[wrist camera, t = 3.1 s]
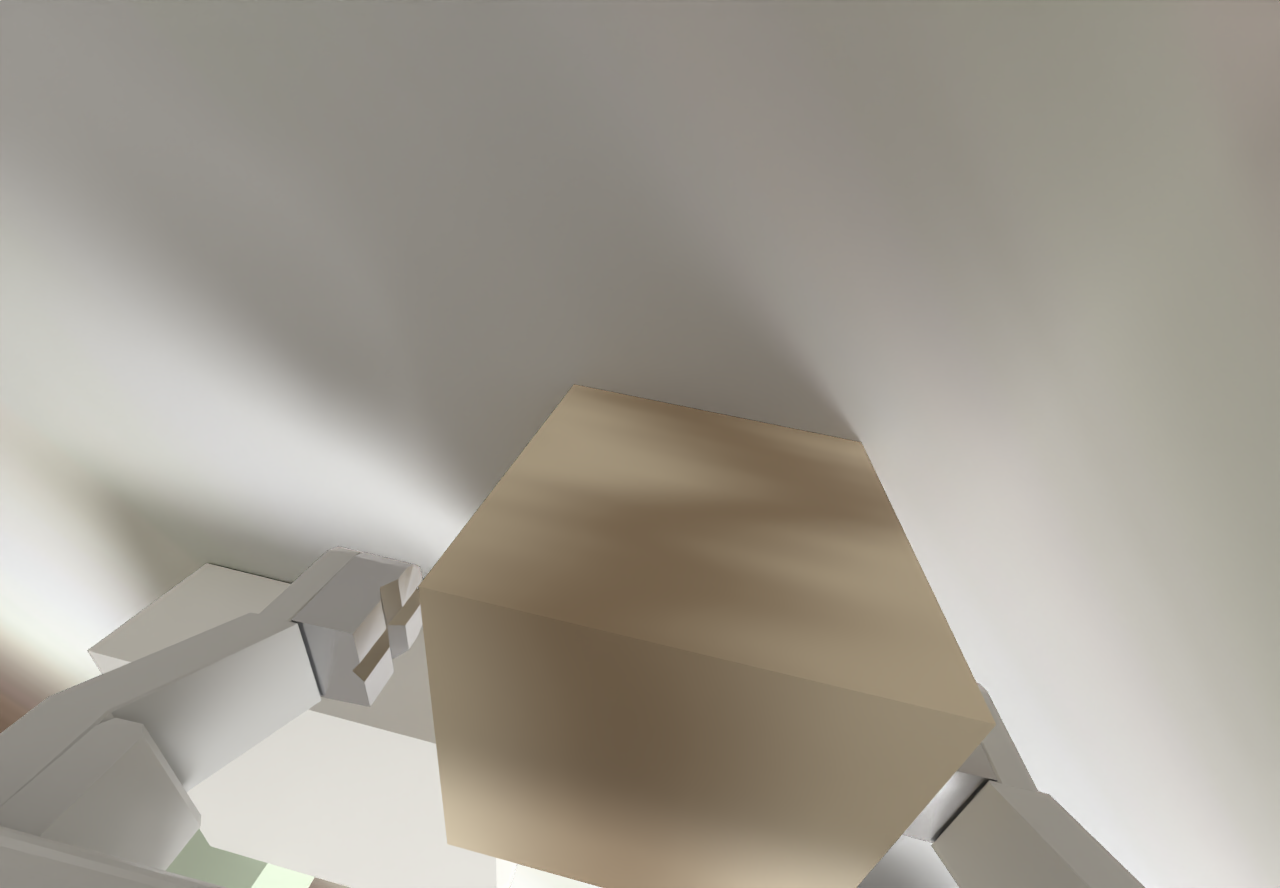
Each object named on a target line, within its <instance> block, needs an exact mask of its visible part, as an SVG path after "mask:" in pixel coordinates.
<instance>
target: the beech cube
mask: <svg viewBox="0 0 1280 888" xmlns="http://www.w3.org/2000/svg"><path fill="white" fill-rule="evenodd" d="M418 588H419V597H420V606H421V615H422V624H423V633H424V642H425V650H426V659H427V668H428V677H429V686H430V695H431V704H432V713H433V722H434V730H435V739H436V748H437V757H438V766H439V775H440V784H441V793H442V802H443V811H444V819H445V828H446V837H447V844H449V845H452V846H456V847H460V848H463V849H467V850H470V851H474V852H477V853H481V854H485V855H488V856H492V857H495V858H499V859H502V860H506V861H510V862H513V863H517V864H520V865H524V866H528V867H531V868H535V869H538V870H542V871H545V872H549V873H553V874H556V875H560V876H563V877H567V878H570V879H574V880H578V881H581V882H585V883H588V884H592V885H595V886H599V887H603V888H857V886H858V885H859V884H860V883H861V882H862V881H863V879H864V878H865V877H866V876H867V875H868V874H869V872H870V871H871V870H872V869H873V868H874V867H875V865H876V864H877V863H878V862H879V861H880V860H881V858H882V857H883V856H884V855H885V854H886V853H887V851H888V850H889V849H890V848H891V847H892V846H893V844H894V843H895V842H896V841H897V840H898V839H899V837H900V836H901V835H902V834H903V833H904V832H905V831H906V829H907V828H908V827H909V826H910V825H911V824H912V822H913V821H914V820H915V819H916V818H917V817H918V815H919V814H920V813H921V812H922V811H923V810H924V808H925V807H926V806H927V805H928V804H929V803H930V801H931V800H932V799H933V798H934V797H935V796H936V794H937V793H938V792H939V791H940V790H941V789H942V787H943V786H944V785H945V784H946V783H947V782H948V780H949V779H950V778H951V777H952V776H953V775H954V773H955V772H956V771H957V770H958V769H959V768H960V766H961V765H962V764H963V763H964V762H965V761H966V759H967V758H968V757H969V756H970V755H971V754H972V752H973V751H974V750H975V749H976V748H977V747H978V745H979V744H980V743H981V742H982V741H983V740H984V738H985V737H986V736H987V735H988V734H989V733H990V731H991V730H992V729H993V728H994V727H995V726H996V723H995V721H994V719H993V716H992V714H991V712H990V710H989V708H988V706H987V704H986V702H985V700H984V698H983V696H982V693H981V691H980V689H979V687H978V685H977V683H976V681H975V679H974V677H973V675H972V673H971V670H970V668H969V666H968V664H967V662H966V660H965V658H964V656H963V654H962V652H961V650H960V647H959V645H958V643H957V641H956V639H955V637H954V635H953V633H952V631H951V629H950V627H949V625H948V622H947V620H946V618H945V616H944V614H943V612H942V610H941V608H940V606H939V604H938V602H937V599H936V597H935V595H934V593H933V591H932V589H931V587H930V585H929V583H928V581H927V579H926V576H925V574H924V572H923V570H922V568H921V566H920V564H919V562H918V560H917V558H916V556H915V553H914V551H913V549H912V547H911V545H910V543H909V541H908V539H907V537H906V535H905V533H904V530H903V528H902V526H901V524H900V522H899V520H898V518H897V516H896V514H895V512H894V510H893V508H892V505H891V503H890V501H889V499H888V497H887V495H886V493H885V491H884V489H883V487H882V485H881V482H880V480H879V478H878V476H877V474H876V472H875V470H874V468H873V466H872V464H871V462H870V459H869V457H868V455H867V453H866V451H865V449H864V447H863V445H862V443H861V442H857V441H852V440H847V439H843V438H838V437H833V436H828V435H823V434H818V433H813V432H808V431H803V430H798V429H793V428H788V427H783V426H778V425H773V424H768V423H763V422H758V421H753V420H748V419H743V418H738V417H733V416H729V415H724V414H719V413H714V412H709V411H704V410H699V409H694V408H689V407H684V406H679V405H674V404H669V403H664V402H659V401H654V400H649V399H644V398H639V397H634V396H629V395H624V394H620V393H615V392H610V391H605V390H600V389H595V388H590V387H585V386H580V385H575V384H574V385H573V386H572V387H571V389H570V390H569V391H568V393H567V394H566V395H565V397H564V398H563V399H562V400H561V402H560V403H559V404H558V406H557V407H556V408H555V409H554V411H553V412H552V413H551V415H550V416H549V417H548V419H547V420H546V421H545V422H544V424H543V425H542V426H541V428H540V429H539V430H538V432H537V433H536V434H535V435H534V437H533V438H532V439H531V441H530V442H529V443H528V445H527V446H526V447H525V448H524V450H523V451H522V452H521V454H520V455H519V456H518V458H517V459H516V460H515V461H514V463H513V464H512V465H511V467H510V468H509V469H508V471H507V472H506V473H505V474H504V476H503V477H502V478H501V480H500V481H499V482H498V484H497V485H496V486H495V487H494V489H493V490H492V491H491V493H490V494H489V495H488V497H487V498H486V499H485V500H484V502H483V503H482V504H481V506H480V507H479V508H478V509H477V511H476V512H475V513H474V515H473V516H472V517H471V519H470V520H469V521H468V522H467V524H466V525H465V526H464V528H463V529H462V530H461V532H460V533H459V534H458V535H457V537H456V538H455V539H454V541H453V542H452V543H451V545H450V546H449V547H448V548H447V550H446V551H445V552H444V554H443V555H442V556H441V558H440V559H439V560H438V561H437V563H436V564H435V565H434V567H433V568H432V569H431V571H430V572H429V573H428V574H427V576H426V577H425V578H424V580H423V581H422V582H421V584H420V585H419V586H418Z"/></svg>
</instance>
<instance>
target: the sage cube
mask: <svg viewBox="0 0 1280 888" xmlns="http://www.w3.org/2000/svg"><path fill="white" fill-rule="evenodd" d="M166 871H168V872H171V873H175V874H179V875H182V876H186V877H190V878H193V879H197V880H201V881H204V882H208V883H212V884H215V885H219V886H223V887H226V888H308V887H309V886H310V884H311V882H312V881H313V879H314V877H313V876H310V875H306V874H303V873H300V872H296V871H293V870H289V869H286V868H283V867H279V866H276V865H272V864H269V863H266V862H262V861H259V860H255V859H252V858H249V857H245V856H242V855H239V854H235V853H232V852H228V851H225V850H222V849H218V848H215V847H211V846H210V845H209V843H208V842H207V840H206V839H205V837H204V835H203V834H202V832H201V831H200V829H198V830H197V832H196V833H195V834H194V835H193V837H192V838H191V839H190V840H189V842H188V843H187V844H186V845H185V847H184V848H183V849H182V851H181V852H180V853H179V854H178V856H177V857H176V858H175V859H174V861H173V862H172V863H171V864H170V866H169V867H168V868H167V869H166Z"/></svg>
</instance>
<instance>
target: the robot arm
mask: <svg viewBox="0 0 1280 888" xmlns="http://www.w3.org/2000/svg"><path fill="white" fill-rule="evenodd" d="M422 580H423V579H422V574H421V568H420V566H418V565H415V564H411V563H407V562H403V561H399V560H395V559H391V558H387V557H383V556H378V555H374V554H370V553H366V552H361V551H356V550H352V549H348V548H343V547H339V546H337V547H335V548H332V549H330V550H328V551H326V552H325V553H324V554H323V555H322V556H321V557H320V558H319V559H318V560H316V561H315V562H314V563H313V564H312V565H311V566H310V567H309V568H308V569H307V570H306V571H305V572H304V573H302V574H301V575H300V576H299V577H298V578H297V579H296V580H295V581H294V582H293V583H292V584H291V585H289V586H288V587H287V588H286V589H285V590H284V591H283V592H282V593H281V594H280V595H279V596H278V597H277V598H275V599H274V600H273V601H272V602H271V603H270V604H269V605H268V606H267V607H266V608H265V609H264V610H263V611H261V612H260V613H259V614H256V613H248V614H245V615H243V616H240V617H238V618H236V619H233V620H231V621H229V622H226V623H224V624H221V625H219V626H217V627H214V628H212V629H209V630H207V631H205V632H202V633H200V634H197V635H195V636H193V637H190V638H188V639H186V640H183V641H181V642H178V643H176V644H174V645H171V646H169V647H166V648H164V649H162V650H159V651H157V652H154V653H152V654H150V655H147V656H145V657H143V658H140V659H138V660H135V661H133V662H131V663H128V664H126V665H123V666H121V667H119V668H116V669H114V670H111V671H109V672H107V673H104V674H102V675H99V676H97V677H95V678H92V679H90V680H88V681H85V682H83V683H80V684H78V685H76V686H73V687H71V688H68V689H66V690H64V691H61V692H59V693H56V694H54V695H52V696H49V697H48V698H46V699H45V700H44V701H42V702H41V703H40V704H39V705H37V706H36V707H35V708H33V709H32V710H31V711H29V712H28V713H27V714H25V715H24V716H23V717H21V718H20V719H19V720H18V721H16V722H15V723H14V724H12V725H11V726H10V727H8V728H7V729H6V730H4V731H3V732H2V733H1V734H0V888H226V887H223V886H219V885H215V884H212V883H208V882H204V881H201V880H197V879H193V878H190V877H186V876H182V875H179V874H175V873H171V872H168V871H166V869H167V868H168V867H169V866H170V864H171V863H172V862H173V861H174V859H175V858H176V857H177V856H178V854H179V853H180V852H181V851H182V849H183V848H184V847H185V845H186V844H187V843H188V842H189V840H190V839H191V838H192V837H193V835H194V834H195V833H196V832H197V830H198V829H199V828H200V827H201V814H200V813H199V811H198V810H197V808H196V806H195V805H194V803H193V802H192V800H191V799H190V797H189V795H188V794H187V792H188V791H189V790H190V789H192V788H193V787H195V786H196V785H198V784H199V783H201V782H202V781H204V780H205V779H207V778H208V777H210V776H211V775H213V774H214V773H215V772H217V771H218V770H220V769H221V768H223V767H224V766H226V765H227V764H229V763H230V762H232V761H233V760H235V759H236V758H238V757H239V756H240V755H242V754H243V753H245V752H246V751H248V750H249V749H251V748H252V747H254V746H255V745H257V744H258V743H260V742H261V741H263V740H264V739H265V738H267V737H268V736H270V735H271V734H273V733H274V732H276V731H277V730H279V729H280V728H282V727H283V726H285V725H286V724H287V723H289V722H290V721H292V720H293V719H295V718H296V717H298V716H299V715H301V714H302V713H304V712H305V711H307V710H308V709H310V708H311V707H312V706H314V705H315V704H317V703H318V702H320V701H321V700H322V699H321V697H324V698H329V699H333V700H338V701H343V702H348V703H353V704H358V705H363V706H367V707H371V705H372V704H373V702H374V701H375V699H376V698H377V696H378V695H379V694H380V692H381V691H382V689H383V688H384V686H385V685H386V683H387V682H388V680H389V679H390V677H391V676H392V674H393V673H394V664H393V659H394V658H396V657H398V656H399V655H401V654H403V653H405V652H406V651H408V650H409V649H410V648H411V646H412V644H413V643H414V641H415V640H416V638H417V637H418V635H419V632H420V629H421V627H422V615H421V606H420V597H419V590H418V589H417V587H418V586H419V584H420V583H421V582H422ZM977 685H978V687H979V689H980V691H981V693H982V696H983V698H984V700H985V702H986V704H987V706H988V708H989V710H990V712H991V714H992V716H993V719H994V721H995V723H996V726H995V727H994V728H993V729H992V730H991V731H990V733H989V734H988V735H987V736H986V737H985V738H984V740H983V741H982V742H981V743H980V744H979V745H978V747H977V748H976V749H975V750H974V751H973V752H972V754H971V755H970V756H969V757H968V758H967V759H966V761H965V762H964V763H963V764H962V765H961V766H960V768H959V769H958V770H957V771H956V772H955V773H954V775H953V776H952V777H951V778H950V779H949V780H948V782H947V783H946V784H945V785H944V786H943V787H942V789H941V790H940V791H939V792H938V793H937V794H936V796H935V797H934V798H933V799H932V800H931V801H930V803H929V804H928V805H927V806H926V807H925V808H924V810H923V811H922V812H921V813H920V814H919V815H918V817H917V818H916V819H915V820H914V821H913V822H912V824H911V825H910V826H909V827H908V828H907V829H906V831H905V832H904V833H903V834H902V835H905V836H909V837H913V838H917V839H920V840H924V841H928V842H931V843H933V844H932V845H931V846H932V847H933V849H934V850H935V852H936V853H937V855H938V856H939V858H940V859H941V861H942V862H943V864H944V865H945V867H946V868H947V870H948V871H949V873H950V874H951V876H952V877H953V879H954V880H955V882H956V883H957V885H958V886H959V888H1145V887H1144V886H1143V885H1142V884H1141V883H1140V882H1139V881H1138V880H1137V879H1136V878H1135V877H1134V876H1133V875H1132V874H1131V873H1130V872H1129V871H1128V870H1126V869H1125V868H1124V867H1123V866H1122V865H1121V864H1120V863H1119V862H1118V861H1117V860H1116V859H1115V858H1114V857H1113V856H1112V855H1111V854H1110V853H1109V852H1108V851H1107V850H1106V849H1105V848H1104V847H1103V846H1102V845H1101V844H1100V843H1099V842H1098V841H1097V840H1096V839H1095V838H1094V837H1093V836H1092V835H1090V834H1089V833H1088V832H1087V831H1086V830H1085V829H1084V828H1083V827H1082V826H1081V825H1080V824H1079V823H1078V822H1077V821H1076V820H1075V819H1074V818H1073V817H1072V816H1071V815H1070V814H1069V813H1068V812H1067V811H1066V810H1065V809H1064V808H1063V807H1062V806H1061V805H1060V804H1059V803H1058V802H1057V801H1056V800H1054V799H1053V798H1052V797H1051V796H1050V795H1049V794H1046V793H1042V792H1039V791H1038V790H1037V788H1036V786H1035V784H1034V782H1033V780H1032V778H1031V776H1030V774H1029V772H1028V770H1027V768H1026V766H1025V764H1024V762H1023V760H1022V759H1021V757H1020V755H1019V753H1018V751H1017V749H1016V747H1015V745H1014V743H1013V741H1012V739H1011V737H1010V735H1009V733H1008V731H1007V729H1006V727H1005V725H1004V723H1003V721H1002V719H1001V717H1000V715H999V714H998V712H997V710H996V708H995V706H994V704H993V702H992V700H991V698H990V696H989V694H988V692H987V691H986V690H985V689H984V688H983V687H982V686H981V685H980V684H979V683H977Z"/></svg>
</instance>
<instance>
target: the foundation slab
mask: <svg viewBox="0 0 1280 888" xmlns="http://www.w3.org/2000/svg"><path fill="white" fill-rule="evenodd" d="M289 585H291V584H289V583H285V582H281V581H277V580H273V579H269V578H265V577H261V576H257V575H253V574H249V573H245V572H241V571H237V570H233V569H229V568H224V567H220V566H216V565H212V564H208V563H206V564H205V565H203V566H202V567H201V568H199V569H198V570H196V571H195V572H194V573H192V574H191V575H190V576H188V577H187V578H186V579H184V580H183V581H181V582H180V583H179V584H177V585H176V586H175V587H173V588H172V589H170V590H169V591H168V592H166V593H165V594H164V595H162V596H161V597H160V598H158V599H157V600H155V601H154V602H153V603H151V604H150V605H149V606H147V607H146V608H145V609H143V610H142V611H140V612H139V613H138V614H136V615H135V616H134V617H132V618H131V619H130V620H128V621H127V622H125V623H124V624H123V625H121V626H120V627H119V628H117V629H116V630H115V631H113V632H112V633H110V634H109V635H108V636H106V637H105V638H104V639H102V640H101V641H99V642H98V643H97V644H95V645H94V646H93V647H91V648H90V649H89V650H87V651H88V653H89V654H90V656H91V658H92V659H93V661H94V662H95V664H96V665H97V667H98V669H99V670H100V672H101V673H102V674H104V673H107V672H109V671H111V670H114V669H116V668H119V667H121V666H123V665H126V664H128V663H131V662H133V661H135V660H138V659H140V658H143V657H145V656H147V655H150V654H152V653H154V652H157V651H159V650H162V649H164V648H166V647H169V646H171V645H174V644H176V643H178V642H181V641H183V640H186V639H188V638H190V637H193V636H195V635H197V634H200V633H202V632H205V631H207V630H209V629H212V628H214V627H217V626H219V625H221V624H224V623H226V622H229V621H231V620H233V619H236V618H238V617H240V616H243V615H245V614H248V613H256V614H259V613H260V612H261V611H263V610H264V609H265V608H266V607H267V606H268V605H269V604H270V603H271V602H272V601H273V600H274V599H275V598H277V597H278V596H279V595H280V594H281V593H282V592H283V591H284V590H285V589H286V588H287V587H288V586H289ZM393 664H394V673H393V674H392V676H391V677H390V679H389V680H388V682H387V683H386V685H385V686H384V688H383V689H382V691H381V692H380V694H379V695H378V696H377V698H376V699H375V701H374V702H373V704H372V705H371V707H367V706H363V705H358V704H353V703H348V702H343V701H338V700H333V699H329V698H324V697H321V699H322V700H321V701H320V702H318V703H317V704H315V705H314V706H312V707H311V708H310V709H308V710H307V711H305V712H304V713H302V714H301V715H299V716H298V717H296V718H295V719H293V720H292V721H290V722H289V723H287V724H286V725H285V726H283V727H282V728H280V729H279V730H277V731H276V732H274V733H273V734H271V735H270V736H268V737H267V738H265V739H264V740H263V741H261V742H260V743H258V744H257V745H255V746H254V747H252V748H251V749H249V750H248V751H246V752H245V753H243V754H242V755H240V756H239V757H238V758H236V759H235V760H233V761H232V762H230V763H229V764H227V765H226V766H224V767H223V768H221V769H220V770H218V771H217V772H215V773H214V774H213V775H211V776H210V777H208V778H207V779H205V780H204V781H202V782H201V783H199V784H198V785H196V786H195V787H193V788H192V789H190V790H189V791H188V792H187V794H188V795H189V797H190V799H191V800H192V802H193V803H194V805H195V806H196V808H197V810H198V811H199V813H200V814H201V827H200V828H199V829H200V831H201V832H202V834H203V835H204V837H205V839H206V840H207V842H208V843H209V845H210V846H211V847H215V848H218V849H222V850H225V851H228V852H232V853H235V854H239V855H242V856H245V857H249V858H252V859H255V860H259V861H262V862H266V863H269V864H272V865H276V866H279V867H283V868H286V869H289V870H293V871H296V872H300V873H303V874H306V875H310V876H313V877H317V878H320V879H323V880H327V881H330V882H333V883H337V884H340V885H344V886H347V887H350V888H510V886H511V883H512V880H513V877H514V874H515V871H516V867H517V863H513V862H510V861H506V860H502V859H499V858H495V857H492V856H488V855H485V854H481V853H477V852H474V851H470V850H467V849H463V848H460V847H456V846H452V845H449V844H447V837H446V828H445V819H444V811H443V802H442V793H441V784H440V775H439V766H438V757H437V748H436V739H435V730H434V722H433V713H432V704H431V695H430V686H429V677H428V668H427V659H426V650H425V642H424V633H423V624H422V627H421V629H420V632H419V635H418V637H417V638H416V640H415V641H414V643H413V644H412V646H411V648H410V649H409V650H408V651H406V652H405V653H403V654H401V655H399V656H398V657H396V658H394V659H393Z"/></svg>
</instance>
